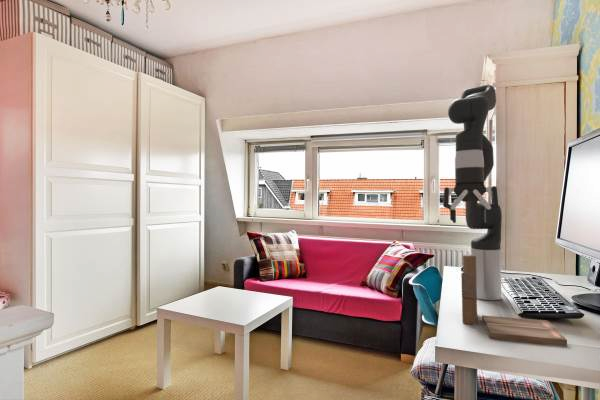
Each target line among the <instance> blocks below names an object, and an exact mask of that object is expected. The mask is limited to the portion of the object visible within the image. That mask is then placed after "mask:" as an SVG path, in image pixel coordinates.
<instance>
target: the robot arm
mask: <svg viewBox="0 0 600 400" xmlns="http://www.w3.org/2000/svg"><path fill="white" fill-rule="evenodd" d="M496 105H497V93H496V89H495V87H494V86H493V85H491V84H484V85H480V86H475V87H470V88H468V87H467V88H464V89H463V90H462V91H461V98H457V99H454V100H452V101H451V102H450V104H449V106H448V109H447V110H448V111H447V114H448V118H449V120H450V121H451V122H452V123H453V124H456V125H458V124H459V125H461V124H463V130H461V131H459V132H457V133H456V135H455V156H454V158H455V159H454V173H455V174H454V175H455V177H454V179H455V180H454V181H455V182H454V183H455V186H454V187H444V188H443V202H442V206H443V208H445V209H448V210H449V216H450V217H449V219H450V221H452V223H453V224H456V223H457V220H456V219H457V213H456V212H457V211H456V208H457V206H458V205H459V204H460V203H461V202H463V203H465V222H466V223H465V224H466V225H467V228H469V229H471V230H487V231H486V233H484V235H481V236H479V237H476V238H474V239H473V238H472V240H471V242H470V251H471V252H470V253H471V254H470V255H475V256H476V279H477V300H483V301H500V300H501V299H502V263H501V262H502V261H501V260H502V257H501V255H502V254H501V242H502V222H503V221H502V220H503V219H502V218H503V216H502V209H501V206H500V205H499V197H498V189H497V186H496V185H494V186H487V187H486V186H485V181H486V179H488V177H489V175H490V173H491V172H492V170H493V167H494V165H495V164H494V163H495V161H494V159H495V158H494V147H493V144H492V143H491V141H490V140H489V139H488V138H487V137H486V135H485V134H484V128H485V124H486V120H487V117H488V113H489V112H490V111H491V110H493V109H494V108H495V107H496ZM453 192H454V194H455V195H456V196H457V197H455V199H454V200H453V202H452V203H451V204H449V196H451V195H452V193H453ZM486 192H487V193H488V194H489V195H490V199H491V202H488V201H487V200H486V199H485V198H484V196H483V195H484V194H486Z"/></svg>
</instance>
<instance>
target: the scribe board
mask: <svg viewBox="0 0 600 400" xmlns="http://www.w3.org/2000/svg"><path fill="white" fill-rule="evenodd" d="M481 321H482V323H483V325H484V327H485V330H486V332H487V334H488V337H489V339H490V340H491V339H492V340H502V341H509V342H510V341H511V342H522V343H532V344H541V345H542V344H543V345H550V346H551V345H552V346H562V347H563V346H564V347H567V346H568V340H567V338H566V337H565V336H564V335H563V334H562V333H561V332H560V331H559V330H558V329H557V328H556V327H555V326H554V325H553V324H552V323H551V322H550V321H549V320H545V319H533V318H521V317H520V318H519V317H508V316H497V315H495V316H494V315H484V314H482V315H481Z"/></svg>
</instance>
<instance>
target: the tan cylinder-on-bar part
mask: <svg viewBox="0 0 600 400" xmlns="http://www.w3.org/2000/svg"><path fill="white" fill-rule="evenodd" d="M460 275H461V311H462V313H461V314H462V315H461V317H462V324H465V323H466V325H467V324H468V325H473V324H474V326H475V325H477V323H478V322H477V321H478V299H477V279H476V256H475V255H471V254H469V253H468V254H462V273H461V274H460Z"/></svg>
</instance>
